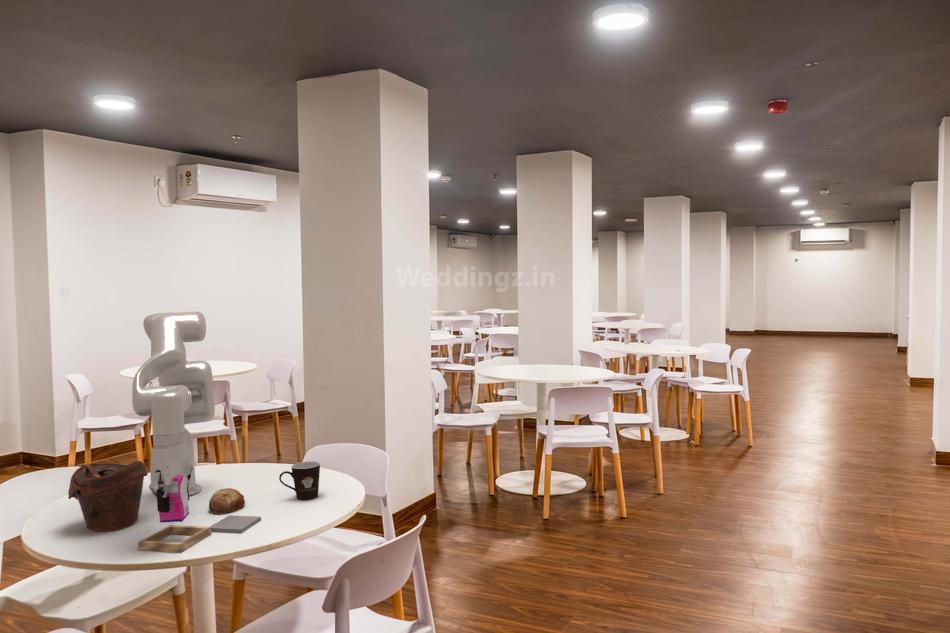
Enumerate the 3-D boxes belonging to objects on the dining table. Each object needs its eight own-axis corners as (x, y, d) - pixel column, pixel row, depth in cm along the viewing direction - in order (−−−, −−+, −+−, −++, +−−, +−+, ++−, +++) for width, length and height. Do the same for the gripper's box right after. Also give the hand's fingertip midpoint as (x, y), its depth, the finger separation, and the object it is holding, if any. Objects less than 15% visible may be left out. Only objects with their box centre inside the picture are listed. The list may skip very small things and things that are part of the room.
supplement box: (166, 514, 183) (164, 472, 182) (189, 513, 184) (187, 471, 183) (158, 523, 177) (155, 479, 176) (182, 521, 178) (179, 478, 177)
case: (74, 520, 200) (70, 459, 199) (151, 509, 208) (147, 450, 207) (66, 541, 184) (61, 475, 183) (149, 528, 192) (145, 464, 191)
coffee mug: (325, 492, 218) (323, 461, 217) (316, 501, 209) (314, 468, 209) (289, 493, 219) (287, 461, 218) (279, 501, 210) (277, 469, 210)
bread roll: (209, 520, 207) (196, 499, 204) (237, 498, 214) (225, 477, 211) (225, 527, 200) (212, 506, 197) (254, 504, 207) (242, 482, 204)
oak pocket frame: (138, 550, 175) (137, 542, 175) (170, 532, 187) (170, 525, 187) (181, 552, 172) (181, 544, 172) (211, 534, 184) (210, 526, 184)
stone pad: (208, 531, 187) (207, 527, 187) (229, 518, 196) (229, 515, 196) (241, 533, 184) (241, 529, 184) (261, 520, 194) (260, 516, 194)
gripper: (178, 430, 188) (182, 494, 190) (133, 447, 171) (138, 517, 173) (202, 431, 186) (206, 495, 188) (159, 448, 169) (164, 519, 171)
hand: (173, 505), depth 180 cm, fingers closed on supplement box, 7 cm apart
